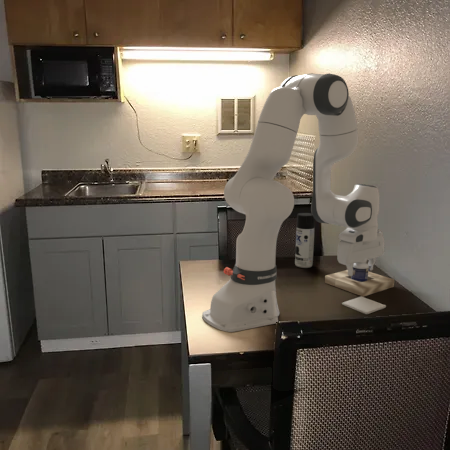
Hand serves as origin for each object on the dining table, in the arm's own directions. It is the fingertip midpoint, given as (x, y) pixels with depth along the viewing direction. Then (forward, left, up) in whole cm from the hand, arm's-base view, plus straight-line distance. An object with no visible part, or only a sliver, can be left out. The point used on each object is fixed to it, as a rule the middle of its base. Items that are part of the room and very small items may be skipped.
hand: (360, 272), depth 159 cm
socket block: (0, 0, -4) cm, 4 cm away
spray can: (0, +26, -5) cm, 26 cm away
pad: (-14, -13, -4) cm, 20 cm away
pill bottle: (0, 0, -5) cm, 5 cm away
